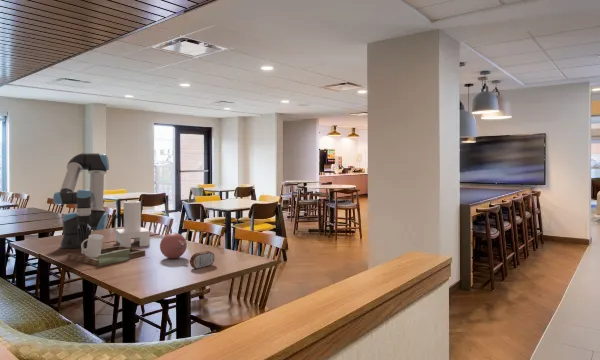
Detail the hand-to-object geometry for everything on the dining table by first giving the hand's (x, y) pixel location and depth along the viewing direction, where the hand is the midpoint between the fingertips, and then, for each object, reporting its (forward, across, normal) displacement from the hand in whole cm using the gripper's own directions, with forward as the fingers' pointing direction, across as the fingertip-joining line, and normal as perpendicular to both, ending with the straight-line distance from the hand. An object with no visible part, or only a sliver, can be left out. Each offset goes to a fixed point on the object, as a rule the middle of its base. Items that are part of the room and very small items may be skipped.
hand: (84, 253), depth 241 cm
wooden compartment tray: (+2, +14, +6) cm, 15 cm away
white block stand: (+2, -6, +38) cm, 39 cm away
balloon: (+2, +52, +25) cm, 58 cm away
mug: (+1, +5, 0) cm, 5 cm away
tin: (+2, +79, +20) cm, 81 cm away
